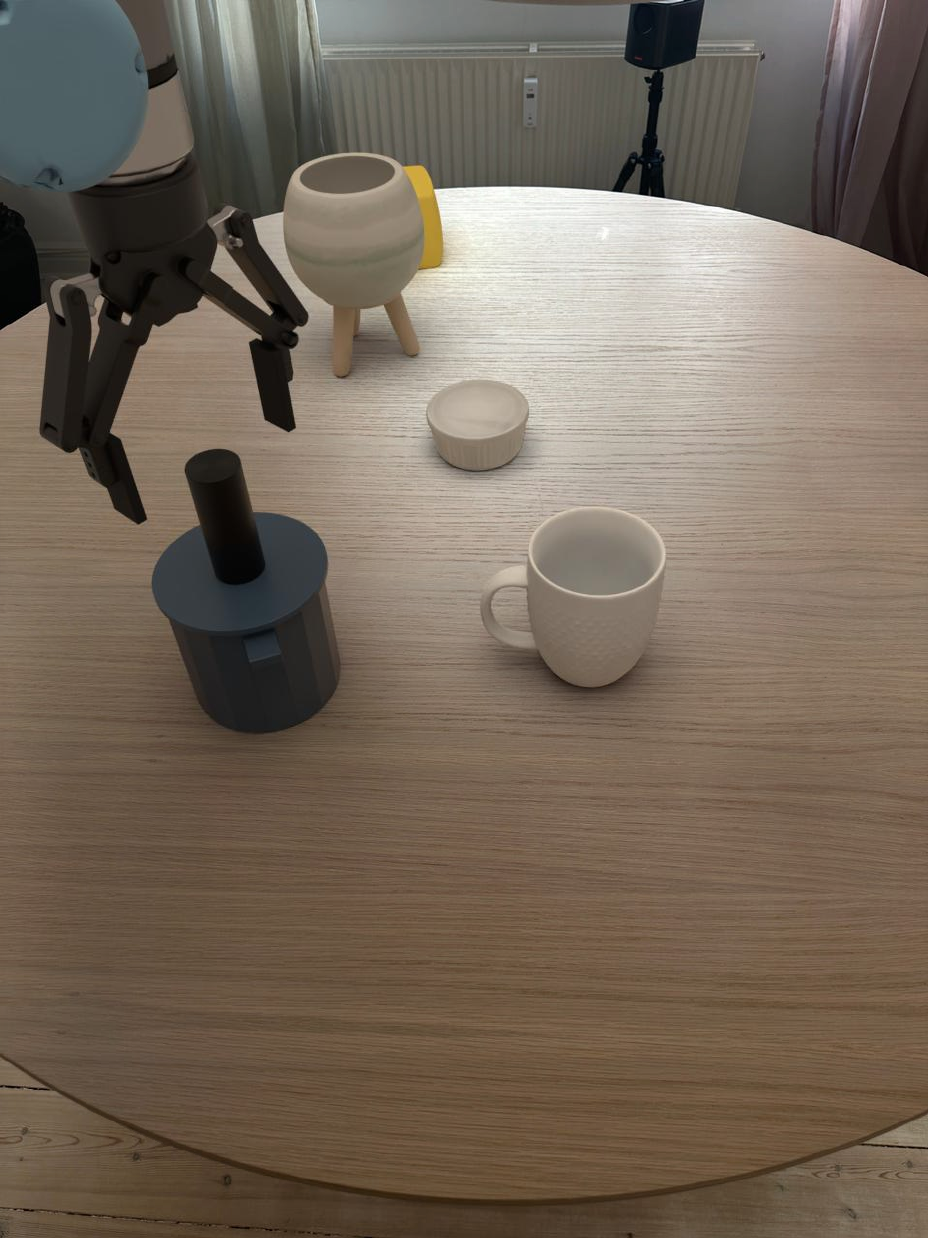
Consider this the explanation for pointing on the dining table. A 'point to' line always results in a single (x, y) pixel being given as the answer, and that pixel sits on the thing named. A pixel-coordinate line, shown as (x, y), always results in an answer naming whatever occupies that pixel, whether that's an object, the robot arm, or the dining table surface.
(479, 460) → the ramekin
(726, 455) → the dining table surface
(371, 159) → the planter
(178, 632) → the pot
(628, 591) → the mug
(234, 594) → the lid
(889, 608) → the dining table surface
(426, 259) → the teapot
